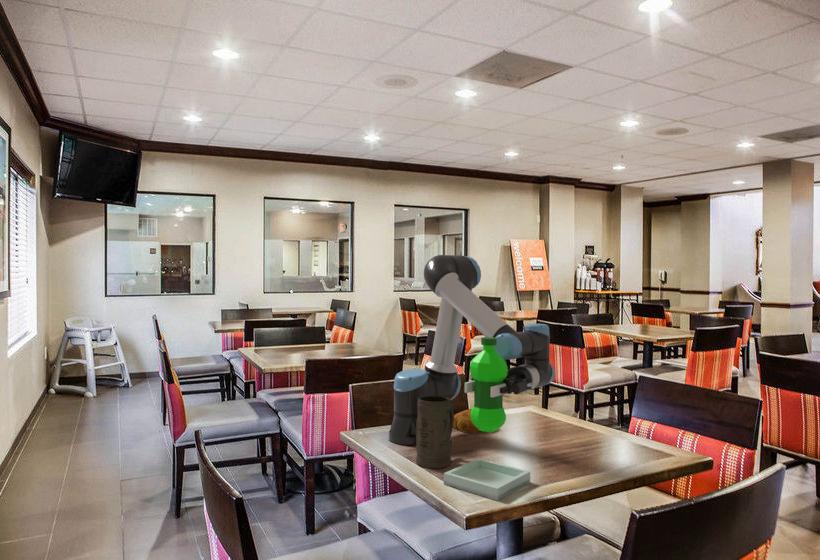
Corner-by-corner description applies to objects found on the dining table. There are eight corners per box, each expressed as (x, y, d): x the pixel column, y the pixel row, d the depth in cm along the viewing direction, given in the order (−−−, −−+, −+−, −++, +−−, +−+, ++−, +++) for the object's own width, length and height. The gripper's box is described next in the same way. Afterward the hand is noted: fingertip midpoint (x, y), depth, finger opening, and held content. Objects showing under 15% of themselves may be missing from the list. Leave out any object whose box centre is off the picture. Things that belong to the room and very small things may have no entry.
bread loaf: (497, 433, 215) (500, 411, 216) (474, 436, 203) (476, 413, 204) (466, 425, 225) (468, 404, 225) (442, 427, 213) (444, 405, 214)
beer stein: (440, 471, 166) (443, 401, 167) (408, 465, 171) (411, 397, 172) (462, 460, 179) (464, 396, 180) (431, 454, 185) (434, 392, 186)
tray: (443, 484, 156) (443, 473, 156) (478, 468, 169) (478, 458, 169) (497, 500, 145) (497, 488, 145) (530, 482, 158) (530, 471, 158)
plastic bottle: (463, 425, 161) (464, 336, 160) (499, 423, 163) (500, 335, 163) (475, 435, 151) (476, 340, 151) (513, 433, 153) (514, 339, 153)
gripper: (553, 396, 164) (511, 410, 147) (491, 386, 177) (447, 398, 160) (553, 370, 164) (512, 380, 147) (492, 362, 177) (447, 371, 160)
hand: (478, 389), depth 153 cm, fingers closed on plastic bottle, 8 cm apart
